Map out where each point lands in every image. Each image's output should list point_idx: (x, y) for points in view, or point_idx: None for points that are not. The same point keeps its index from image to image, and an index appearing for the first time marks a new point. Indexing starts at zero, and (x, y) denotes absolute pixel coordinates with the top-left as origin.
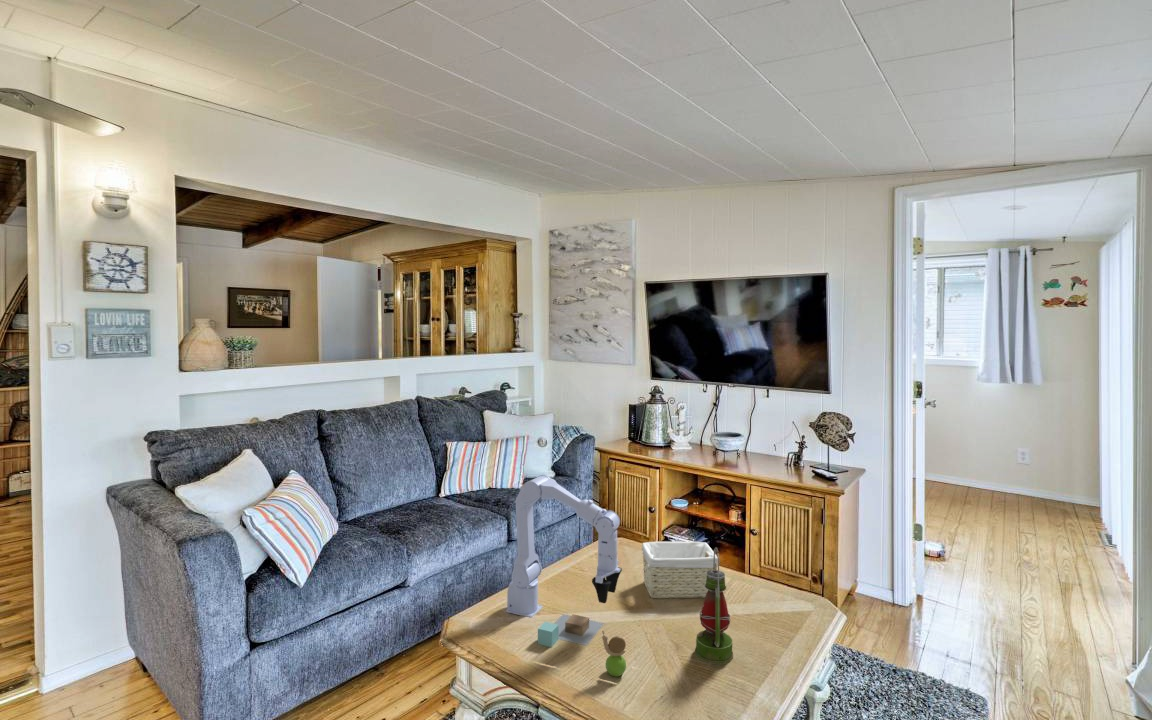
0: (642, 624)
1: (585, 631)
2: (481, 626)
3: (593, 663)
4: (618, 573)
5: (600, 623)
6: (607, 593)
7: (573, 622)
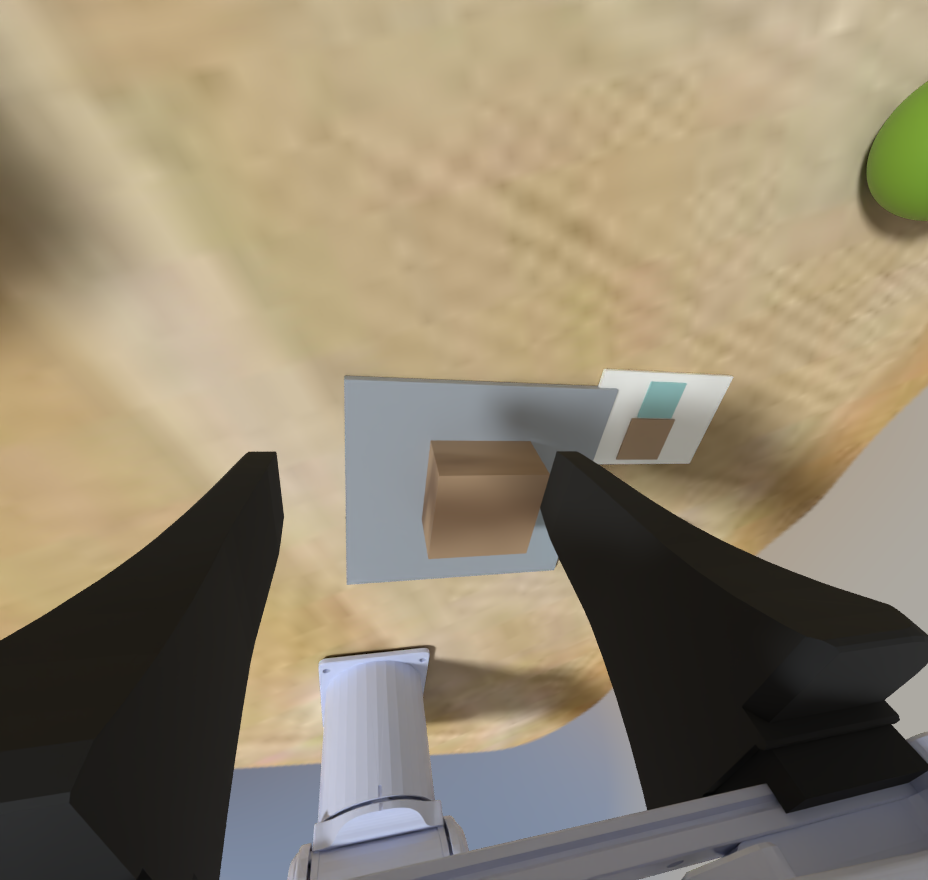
0: (168, 40)
1: (484, 442)
2: (526, 704)
3: (762, 306)
4: (140, 709)
5: (357, 399)
6: (634, 510)
7: (518, 523)
